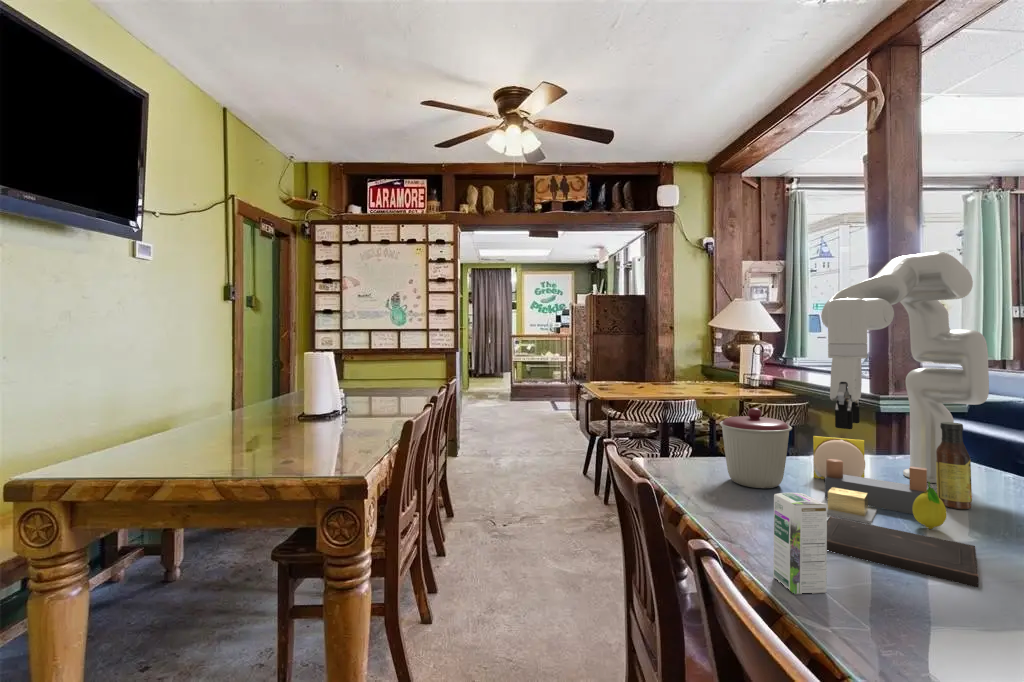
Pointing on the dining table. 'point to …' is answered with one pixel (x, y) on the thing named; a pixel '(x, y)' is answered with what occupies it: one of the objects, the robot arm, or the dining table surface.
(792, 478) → the dining table surface
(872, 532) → the hardcover book
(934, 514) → the lemon
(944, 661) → the dining table surface
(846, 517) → the mat
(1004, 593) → the dining table surface
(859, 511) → the tan rectangular block
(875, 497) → the plane body
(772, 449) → the canister
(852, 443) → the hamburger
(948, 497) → the sauce bottle
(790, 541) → the syrup box
